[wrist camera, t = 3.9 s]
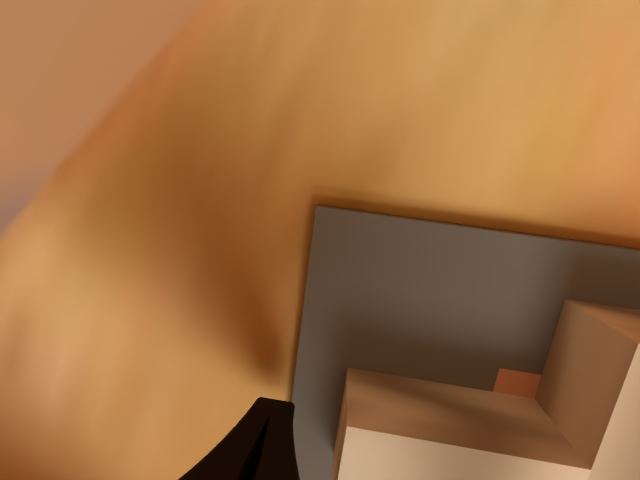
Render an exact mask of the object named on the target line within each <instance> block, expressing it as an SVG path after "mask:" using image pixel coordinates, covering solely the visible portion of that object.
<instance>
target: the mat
mask: <svg viewBox="0 0 640 480" xmlns="http://www.w3.org/2000/svg"><path fill="white" fill-rule="evenodd" d="M565 299H568V300H575V301H582V302H589V303H595V304H602V305H609V306H615V307H622V308H629V309H636V310H640V249H636V248H629V247H622V246H614V245H607V244H600V243H593V242H585V241H578V240H571V239H564V238H556V237H549V236H542V235H535V234H527V233H520V232H513V231H506V230H498V229H491V228H484V227H477V226H469V225H462V224H455V223H448V222H440V221H433V220H426V219H418V218H411V217H404V216H397V215H389V214H382V213H375V212H368V211H360V210H353V209H346V208H339V207H331V206H324V205H317V206H316V208H315V216H314V224H313V232H312V240H311V248H310V256H309V264H308V272H307V280H306V288H305V296H304V304H303V312H302V321H301V329H300V337H299V345H298V353H297V361H296V369H295V377H294V385H293V393H292V401H291V402H292V403H293V404H294V405H295V410H294V419H293V434H294V445H295V454H296V461H297V466H298V472H299V477H300V480H332V473H333V456H334V448H335V442H336V436H337V430H338V424H339V417H340V411H341V405H342V399H343V393H344V387H345V381H346V375H347V369H348V368H354V369H360V370H366V371H372V372H378V373H384V374H390V375H396V376H402V377H408V378H414V379H420V380H426V381H432V382H438V383H444V384H450V385H456V386H462V387H468V388H474V389H479V390H485V391H491V392H497V393H503V394H509V395H515V396H521V397H527V398H533V399H534V398H535V394H536V391H537V388H538V385H539V382H540V378H541V375H542V372H543V369H544V365H545V362H546V359H547V356H548V353H549V349H550V346H551V343H552V340H553V336H554V333H555V330H556V327H557V324H558V320H559V317H560V314H561V311H562V307H563V304H564V301H565Z"/></svg>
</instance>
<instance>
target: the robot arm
mask: <svg viewBox="0 0 640 480" xmlns="http://www.w3.org/2000/svg"><path fill="white" fill-rule="evenodd" d="M294 410H295V405H294V404H293V403H292V402H286V401H280V400H275V399H269V398H263V397H260V398H258V399H257V400H256V401H255V403H254V404H253V405H252V407H251V408H250V409H249V411H248V412H247V413H246V414H245V415H244V417H243V418H242V419H241V420H240V421H239V422H238V423H237V425H236V426H235V427H234V428H233V429H232V430H231V431H230V432H229V433H228V434H227V435H226V437H225V438H224V439H223V440H222V441H221V442H220V443H219V444H218V445H217V446H216V447H214V448H213V449H212V450H211V451H210V452H209V453H208V454H207V455H206V456H205V457H204V458H203V459H202V460H201V461H200V462H199V463H197V464H196V465H195V466H194V467H193V468H192V469H190V470H189V471H188V472H187V473H186V474H184V475H183V476H182V477H181V478H179V479H178V480H300V477H299V472H298V466H297V461H296V454H295V445H294V434H293V419H294Z"/></svg>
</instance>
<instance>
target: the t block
mask: <svg viewBox="0 0 640 480" xmlns="http://www.w3.org/2000/svg"><path fill="white" fill-rule="evenodd" d="M332 480H640V310H636V309H629V308H622V307H615V306H609V305H602V304H595V303H589V302H582V301H575V300H568V299H565V301H564V304H563V307H562V311H561V314H560V317H559V320H558V324H557V327H556V330H555V333H554V336H553V340H552V343H551V346H550V349H549V353H548V356H547V359H546V362H545V365H544V369H543V372H542V375H541V378H540V382H539V385H538V388H537V391H536V394H535V398H534V399H533V398H527V397H521V396H515V395H509V394H503V393H497V392H491V391H485V390H479V389H474V388H468V387H462V386H456V385H450V384H444V383H438V382H432V381H426V380H420V379H414V378H408V377H402V376H396V375H390V374H384V373H378V372H372V371H366V370H360V369H354V368H348V369H347V375H346V381H345V387H344V393H343V399H342V405H341V411H340V417H339V424H338V430H337V436H336V442H335V448H334V456H333V473H332Z"/></svg>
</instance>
